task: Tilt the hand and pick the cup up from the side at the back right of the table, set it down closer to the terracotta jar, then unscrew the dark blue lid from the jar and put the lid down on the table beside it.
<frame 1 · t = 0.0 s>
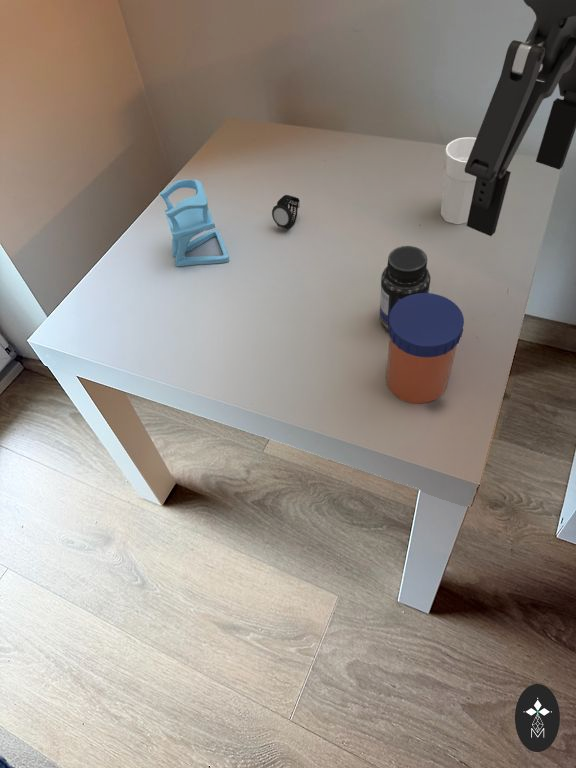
hand: (516, 195, 56), 20 cm above the table, tool pointing down, fingers open, 13 cm apart
jar: (416, 378, 68), on the table
chair: (199, 254, 87), on the table
pill bottle: (401, 321, 74), on the table
jar lid: (425, 320, 59), point 11 cm above the table, screwed on, not yet turned
smartwatch: (290, 226, 89), on the table
cup: (457, 215, 86), on the table
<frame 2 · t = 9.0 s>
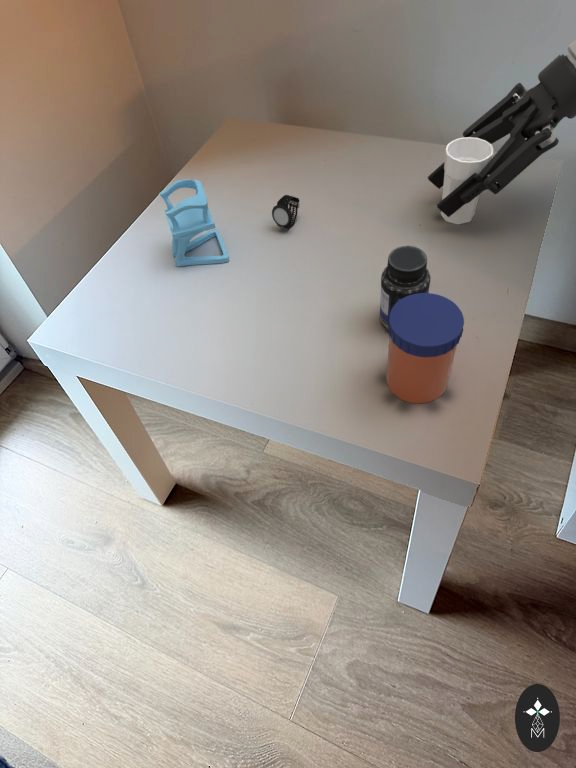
hand: (438, 196, 83), 4 cm above the table, tool tilted 45°, fingers closed on cup, 7 cm apart
cup: (457, 215, 86), on the table, touching gripper
everything else where it was.
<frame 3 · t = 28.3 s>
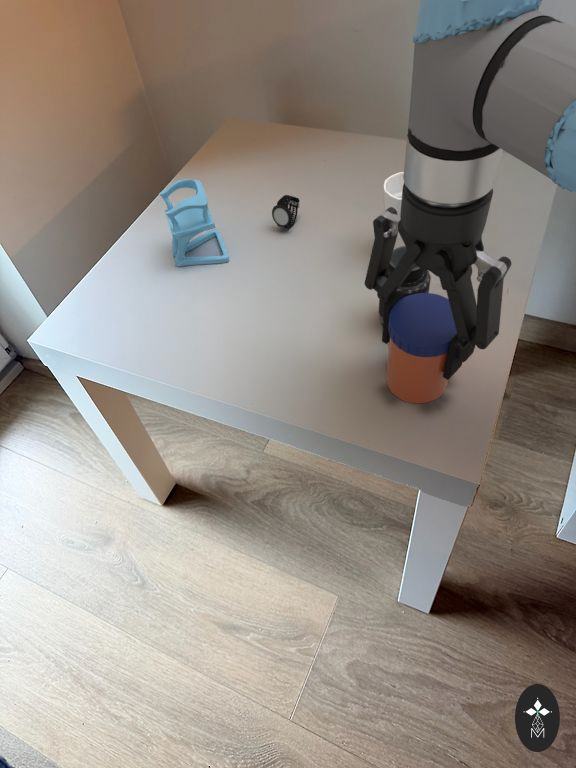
hand: (420, 353, 64), 5 cm above the table, tool pointing down, fingers closed on jar lid, 8 cm apart
jar lid: (425, 320, 59), point 11 cm above the table, screwed on, not yet turned, touching gripper
cup: (401, 249, 83), on the table
everything else where it was.
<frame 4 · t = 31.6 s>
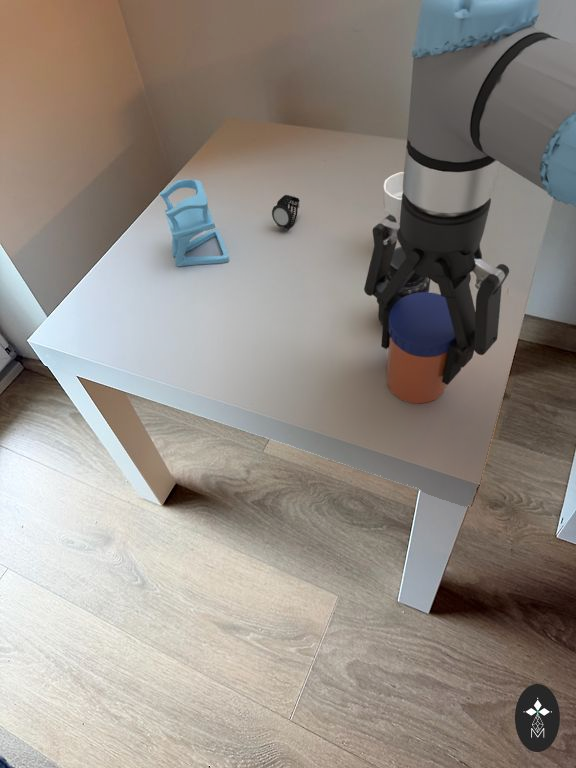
hand: (419, 358, 65), 4 cm above the table, tool pointing down, fingers closed on jar lid, 8 cm apart
jar lid: (425, 320, 59), point 11 cm above the table, turned 80° so far, risen 0.1 cm, still on its thread, touching gripper
everything else where it was.
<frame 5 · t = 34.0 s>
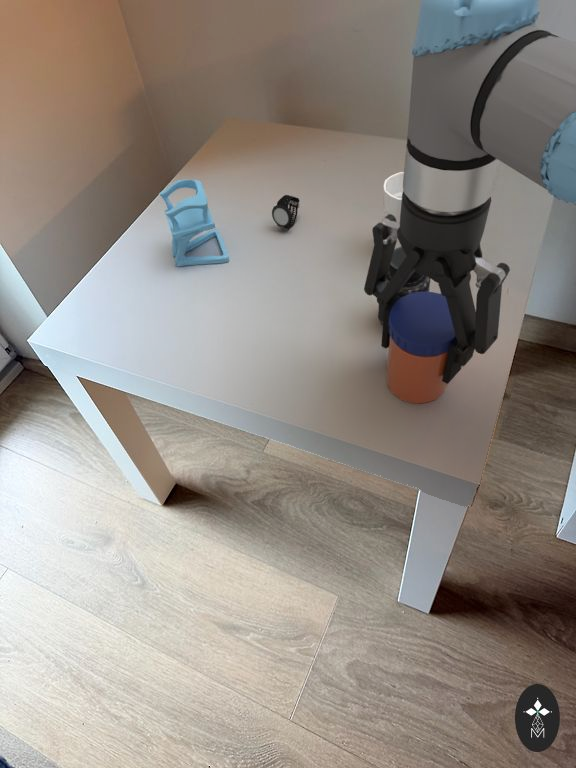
hand: (419, 357, 64), 4 cm above the table, tool pointing down, fingers closed on jar lid, 8 cm apart
jar lid: (426, 319, 59), point 11 cm above the table, turned 160° so far, risen 0.2 cm, still on its thread, touching gripper
everything else where it was.
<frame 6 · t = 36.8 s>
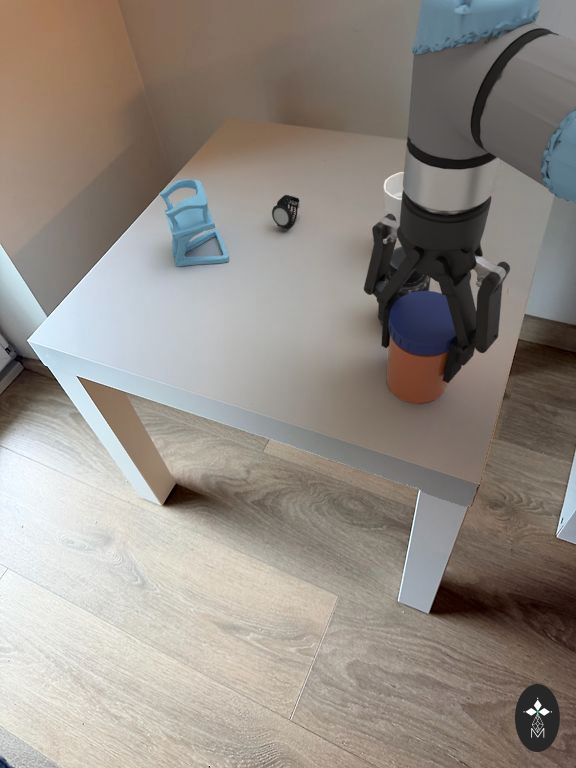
hand: (420, 356, 64), 4 cm above the table, tool pointing down, fingers closed on jar lid, 8 cm apart
jar lid: (426, 318, 59), point 11 cm above the table, turned 239° so far, risen 0.3 cm, still on its thread, touching gripper
everything else where it was.
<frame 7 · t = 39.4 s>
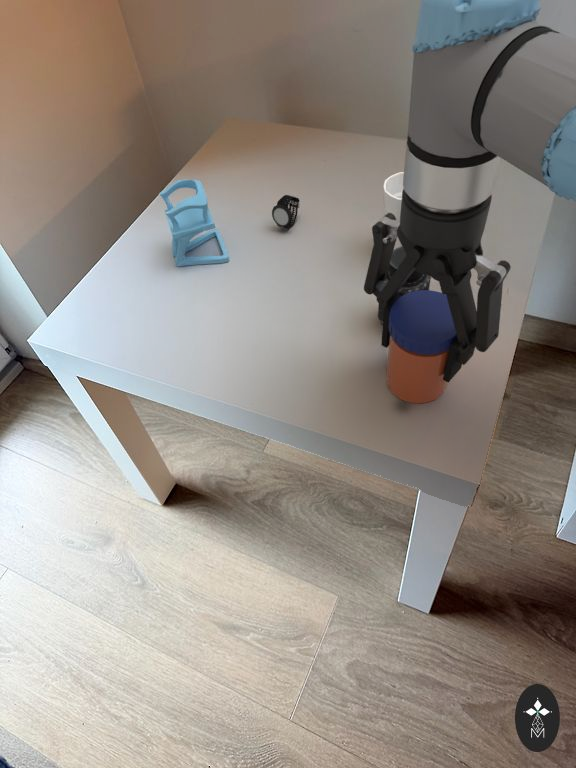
hand: (420, 356, 64), 5 cm above the table, tool pointing down, fingers closed on jar lid, 8 cm apart
jar lid: (426, 318, 59), point 11 cm above the table, turned 319° so far, risen 0.4 cm, still on its thread, touching gripper
everything else where it was.
when the fingers open (1 cm above the table, at t = 46.6 s): jar lid drops 6 cm, point 1 cm above the table.
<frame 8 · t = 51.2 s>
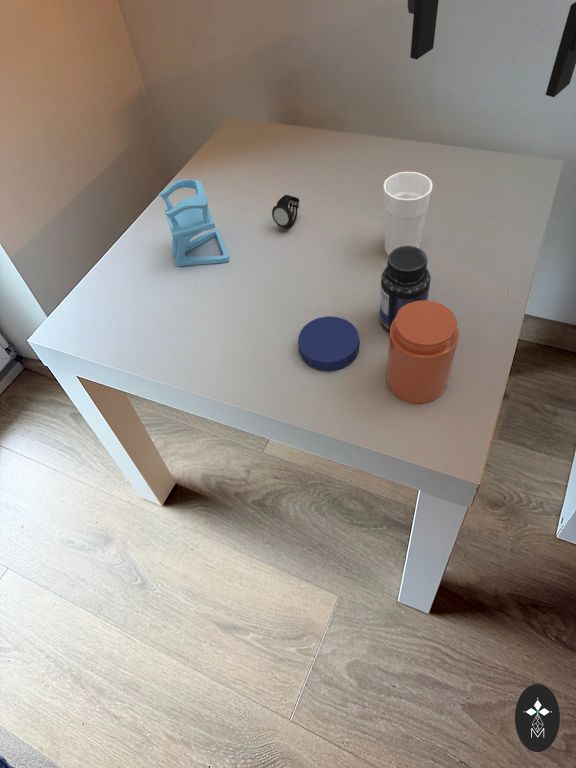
hand: (485, 70, 48), 32 cm above the table, tool pointing down, fingers open, 13 cm apart
jar lid: (328, 340, 71), point 1 cm above the table, off its thread
everything else where it was.
at the end: cup inside the target area (0.0 cm from its centre), on the table; jar lid came off its thread; jar lid point 1.5 cm above the table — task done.
